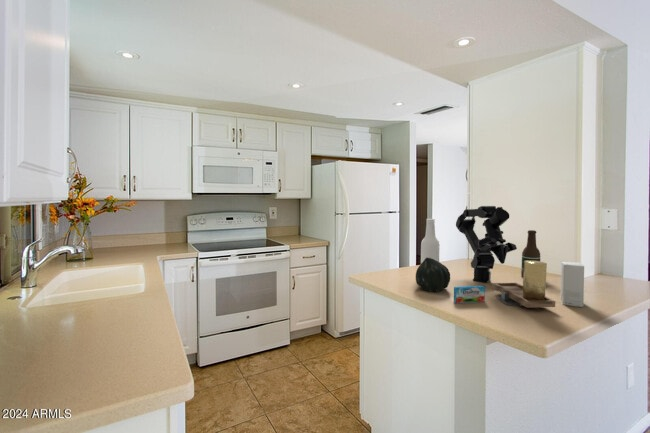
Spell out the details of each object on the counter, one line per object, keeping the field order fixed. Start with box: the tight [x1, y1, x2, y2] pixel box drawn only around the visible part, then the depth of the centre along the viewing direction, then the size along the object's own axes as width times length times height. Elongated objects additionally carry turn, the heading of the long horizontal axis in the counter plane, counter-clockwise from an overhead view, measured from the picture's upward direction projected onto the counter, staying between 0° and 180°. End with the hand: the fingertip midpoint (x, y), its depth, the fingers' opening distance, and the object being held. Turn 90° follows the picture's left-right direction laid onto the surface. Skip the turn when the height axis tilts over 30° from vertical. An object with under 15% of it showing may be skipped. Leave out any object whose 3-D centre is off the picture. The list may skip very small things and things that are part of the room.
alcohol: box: [420, 218, 441, 264], centre depth 162 cm, size 9×9×30 cm
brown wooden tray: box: [492, 282, 556, 308], centre depth 127 cm, size 23×10×2 cm, turn 1°
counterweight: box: [522, 260, 548, 300], centre depth 119 cm, size 7×7×14 cm
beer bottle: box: [520, 229, 541, 279], centre depth 161 cm, size 8×8×24 cm
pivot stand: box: [495, 292, 523, 306], centre depth 127 cm, size 8×15×4 cm, turn 91°
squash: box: [415, 258, 451, 293], centre depth 145 cm, size 14×15×15 cm
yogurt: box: [453, 285, 486, 304], centre depth 127 cm, size 12×2×6 cm, turn 95°
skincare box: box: [560, 261, 585, 308], centre depth 125 cm, size 8×7×16 cm
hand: (502, 263), depth 140 cm, fingers closed
